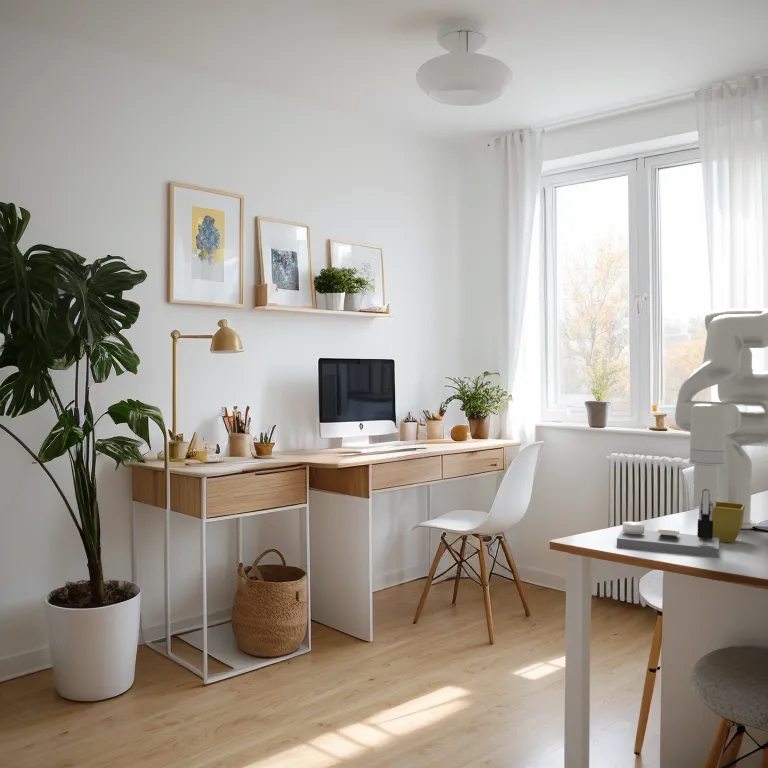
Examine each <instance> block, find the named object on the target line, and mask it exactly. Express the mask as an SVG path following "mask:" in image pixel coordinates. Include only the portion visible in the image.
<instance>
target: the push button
mask: <svg viewBox="0 0 768 768" xmlns="http://www.w3.org/2000/svg"><path fill="white" fill-rule="evenodd" d="M645 526H646V524H645V523H642V522H638V521H623V522H622V530H623V532H625V533H630V534H644V530H645Z"/></svg>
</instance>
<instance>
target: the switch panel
mask: <svg viewBox="0 0 768 768" xmlns="http://www.w3.org/2000/svg"><path fill="white" fill-rule="evenodd" d="M623 547H624V549H634V550H643V551H651V552H652V551H653V552H663V553H670V554H671V553H672V554H680V555H690V556H699V557H709V558H715V559H716V558H717V559H719V558H720V541H719V537H713V538H712V539H707V538H698V536H697V534H688V533H680V532H679V535H669V534H659V533H658V530H657V531H656V530H648V529H644V534H630V533H625V532H623V529H622V530H621V531H620V532H619V534H618V536H617V538H616V548H623Z"/></svg>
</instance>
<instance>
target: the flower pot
mask: <svg viewBox="0 0 768 768" xmlns="http://www.w3.org/2000/svg"><path fill="white" fill-rule="evenodd" d="M710 506H711V504H710ZM744 509H745V504H738V503H727V502H716V507H715V509H713V508H712V520H713V537H719V543H720V542H721V543H727V544H728V543H729V544H734V543H735V542H736V539H737V538H738V535H739V534H740V531H741V530H742V529H741V527H742V522H743V516H744Z"/></svg>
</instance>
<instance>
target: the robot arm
mask: <svg viewBox="0 0 768 768" xmlns="http://www.w3.org/2000/svg"><path fill="white" fill-rule="evenodd" d="M704 317H705V318H704V326H705V330H706V332H707V333H706V340H705V345H704V346H705V347H704V352H703V359H702V364H701V365H700V366H699V367H698V368H696V369H695V370H694V371H693V372H691V374H689V375H688V377H687V378H686V379H685V380H684V381H683V383H682V384H681V385H680V389H679V391H678V394H677V395H678V396H677V399H676V400H677V401H676V404H675V413H674V421H675V425H676V427H677V429H679V430H680V431H682V432H686V433H690V435H689V438H690V439H689V440H690V441H689V463H688V464H692V465H693V476H692V477H693V478H692V504H691V505H692V508H694V509H696V507H699V508H698V519H697V533H696V535H697V536H698V538H707V539H712V538H713V520H712V508H713V509H715V507H716V502H727V503H738V504H745V509H744V516H743V522H742V527H741V529H740V530H747V529H753V528H752V527H753V526H755V525H756V526H757V522H756V521H754V520H751V509H752V508H751V506H752V505H751V503H752V473H753V471H752V470H753V469H752V468H753V465H752V459H751V458H750V456H749V454H748V453H747V452H746V450H744V449H743V447H747V446H748V447H750V446H751V447H761V448H762V447H763V448H764V447H765V448H766V447H767V448H768V371H767V370H766V371H765V370H763V371H762V370H753V366H752V365H753V352H752V350H751V349H765V348H767V347H768V307H767V308H761V307H759V308H756V307H755V308H722V309H714V310H711V311H709V312H707V313H706V315H705V316H704ZM716 385H717V395H718V396H717V397H718V399H719V401H705V400H700V401H699V400H693V398H694V397H695V396H696V395H697V394H698V393H699V392H701V391H703V390H705V389H707V388H711V387H713V386H716ZM738 406H739V407H741V406H742V407H759V408H761V409H763V410H762V411H761V410H746V409H739V407H738ZM710 504H711V506H710Z"/></svg>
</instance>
